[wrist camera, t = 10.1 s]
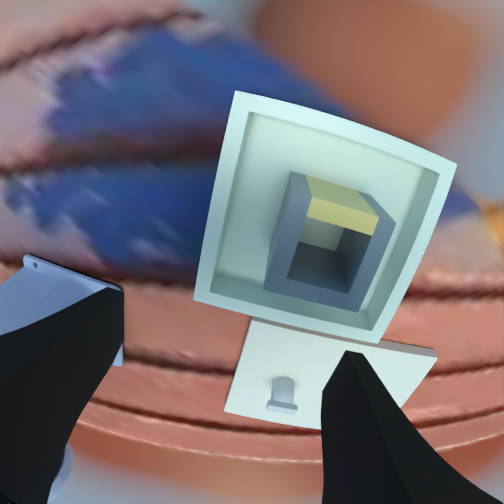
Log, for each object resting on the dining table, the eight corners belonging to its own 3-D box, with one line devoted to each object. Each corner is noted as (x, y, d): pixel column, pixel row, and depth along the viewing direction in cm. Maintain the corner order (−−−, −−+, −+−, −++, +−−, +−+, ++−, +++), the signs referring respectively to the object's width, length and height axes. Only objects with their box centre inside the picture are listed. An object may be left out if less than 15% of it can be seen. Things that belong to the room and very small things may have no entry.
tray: (204, 277, 20) (193, 299, 17) (243, 94, 15) (235, 90, 13) (369, 318, 20) (377, 343, 17) (435, 156, 15) (457, 164, 13)
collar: (343, 267, 18) (357, 312, 14) (269, 247, 18) (262, 289, 14) (370, 195, 16) (396, 223, 12) (290, 171, 16) (291, 191, 12)
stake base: (225, 402, 24) (218, 434, 21) (253, 310, 20) (246, 346, 17) (375, 426, 24) (380, 456, 21) (433, 349, 20) (448, 381, 17)
